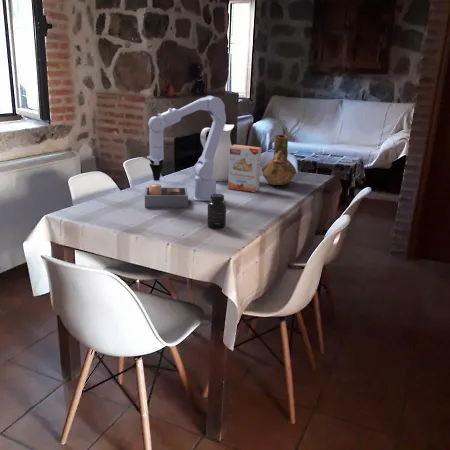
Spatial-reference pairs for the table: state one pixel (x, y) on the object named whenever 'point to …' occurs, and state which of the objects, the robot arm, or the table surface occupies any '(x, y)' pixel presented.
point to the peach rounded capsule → (155, 189)
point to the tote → (167, 199)
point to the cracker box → (244, 168)
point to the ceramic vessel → (279, 164)
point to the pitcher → (220, 153)
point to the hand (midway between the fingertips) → (156, 178)
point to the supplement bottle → (216, 212)
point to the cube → (172, 191)
